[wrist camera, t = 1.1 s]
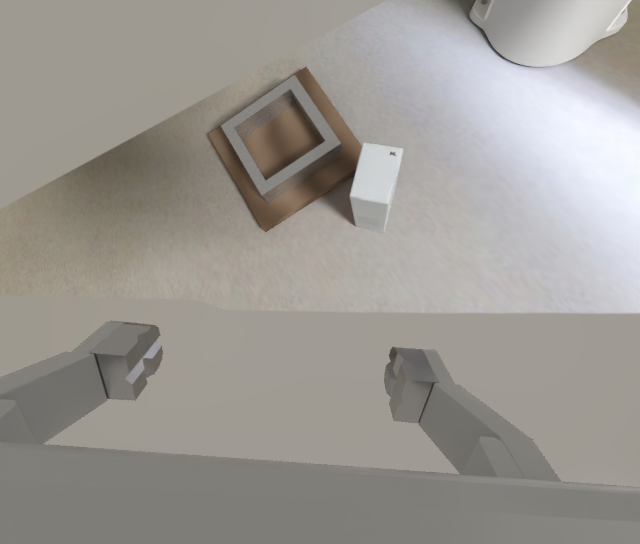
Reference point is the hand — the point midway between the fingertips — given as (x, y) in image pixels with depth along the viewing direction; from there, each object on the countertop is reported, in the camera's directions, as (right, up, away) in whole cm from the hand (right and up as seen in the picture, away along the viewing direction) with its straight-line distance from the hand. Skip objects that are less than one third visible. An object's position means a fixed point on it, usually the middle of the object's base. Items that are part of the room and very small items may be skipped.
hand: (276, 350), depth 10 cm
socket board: (-3, +21, +33) cm, 39 cm away
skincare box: (+9, +11, +30) cm, 34 cm away
